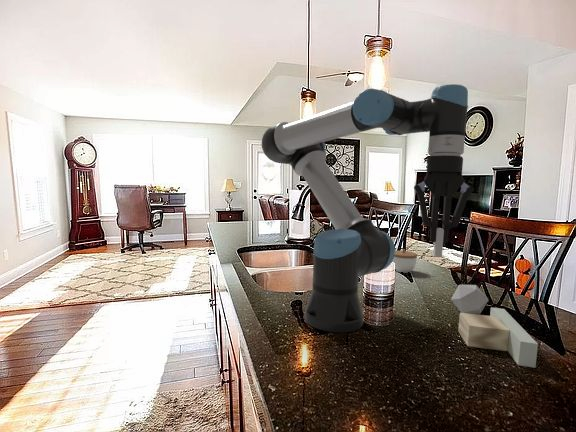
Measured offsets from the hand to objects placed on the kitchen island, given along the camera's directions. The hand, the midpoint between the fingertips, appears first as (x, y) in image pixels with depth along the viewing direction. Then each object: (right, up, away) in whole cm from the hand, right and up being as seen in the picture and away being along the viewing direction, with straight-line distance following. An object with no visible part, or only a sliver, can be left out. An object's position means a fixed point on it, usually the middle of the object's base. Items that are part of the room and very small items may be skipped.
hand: (437, 255), depth 80 cm
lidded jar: (+13, -14, +62) cm, 65 cm away
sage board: (+15, -20, -3) cm, 25 cm away
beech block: (+10, -20, -1) cm, 22 cm away
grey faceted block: (+16, -19, +17) cm, 30 cm away
